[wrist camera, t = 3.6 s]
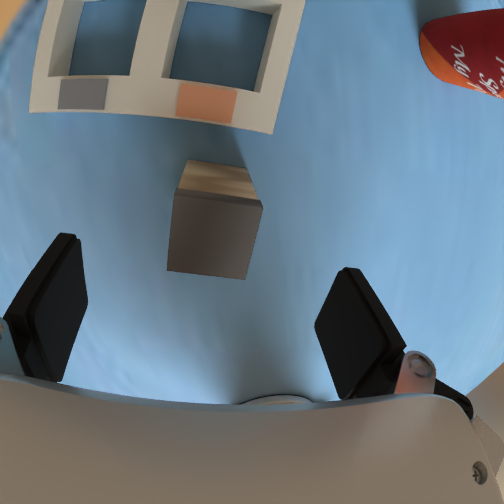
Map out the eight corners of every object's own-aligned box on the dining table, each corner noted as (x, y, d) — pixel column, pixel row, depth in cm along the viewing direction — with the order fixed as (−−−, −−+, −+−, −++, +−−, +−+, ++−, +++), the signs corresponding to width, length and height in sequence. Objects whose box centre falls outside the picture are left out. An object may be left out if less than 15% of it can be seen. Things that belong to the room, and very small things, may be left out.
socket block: (297, -7, 14) (312, -21, 11) (264, 127, 18) (273, 135, 16) (78, -23, 10) (58, -35, 8) (51, 107, 15) (26, 113, 13)
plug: (247, 168, 20) (263, 208, 14) (235, 221, 22) (245, 279, 16) (186, 158, 19) (174, 195, 13) (179, 214, 21) (166, 270, 15)
